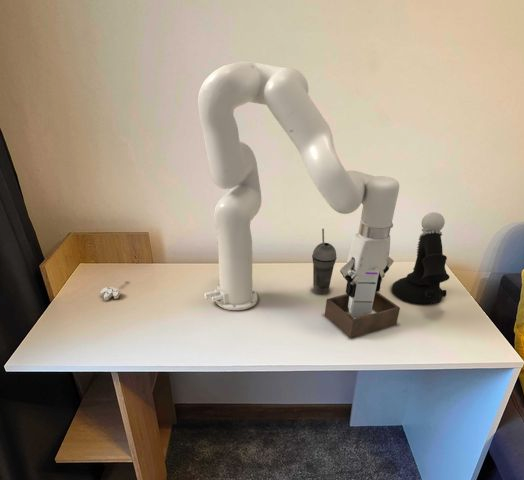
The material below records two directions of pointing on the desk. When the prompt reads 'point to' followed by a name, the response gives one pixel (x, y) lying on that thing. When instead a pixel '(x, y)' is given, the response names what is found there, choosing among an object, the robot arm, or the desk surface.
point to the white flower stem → (110, 293)
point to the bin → (365, 324)
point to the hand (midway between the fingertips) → (362, 291)
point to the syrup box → (364, 294)
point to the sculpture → (425, 266)
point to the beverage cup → (323, 266)
